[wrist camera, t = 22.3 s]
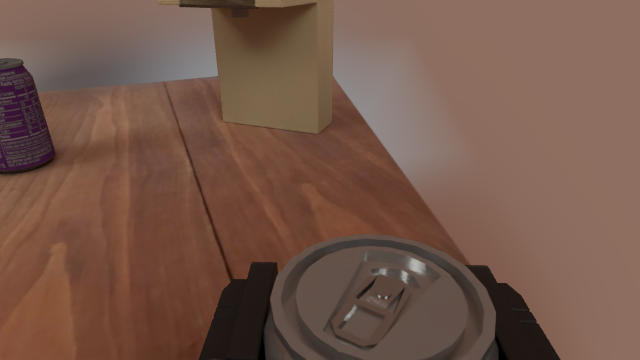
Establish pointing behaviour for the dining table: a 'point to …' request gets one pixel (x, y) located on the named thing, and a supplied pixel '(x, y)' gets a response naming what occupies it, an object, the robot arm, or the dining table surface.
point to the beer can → (378, 304)
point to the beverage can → (21, 121)
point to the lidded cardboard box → (273, 61)
